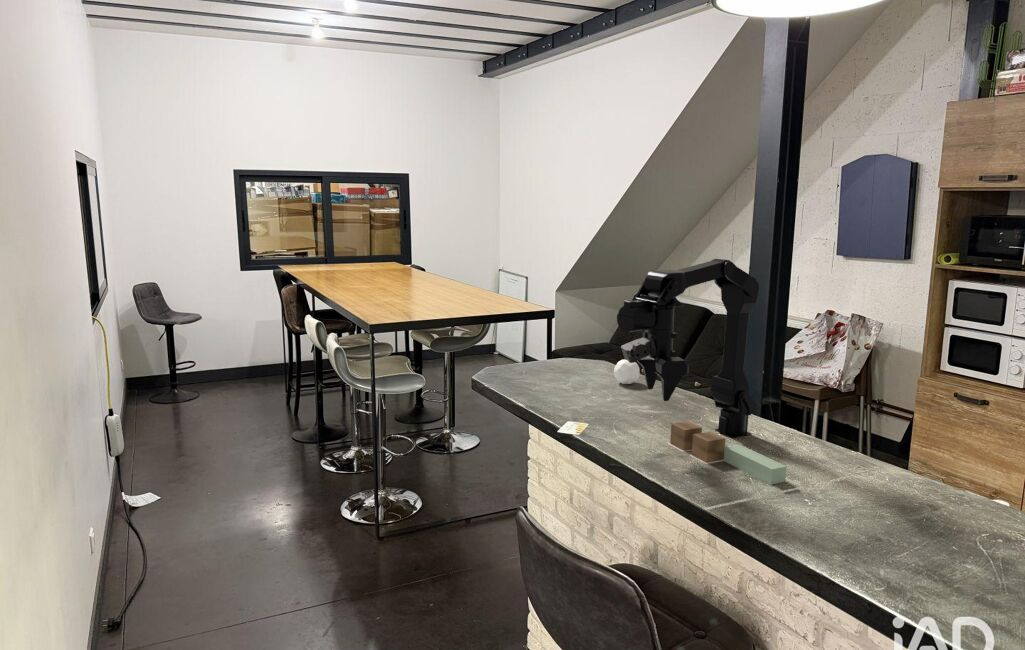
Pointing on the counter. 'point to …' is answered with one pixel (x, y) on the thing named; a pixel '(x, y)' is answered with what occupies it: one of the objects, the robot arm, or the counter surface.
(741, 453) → the plank
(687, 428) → the brown wooden cube
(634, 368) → the white faceted ovoid
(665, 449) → the counter surface
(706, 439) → the tan wood block
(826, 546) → the counter surface
